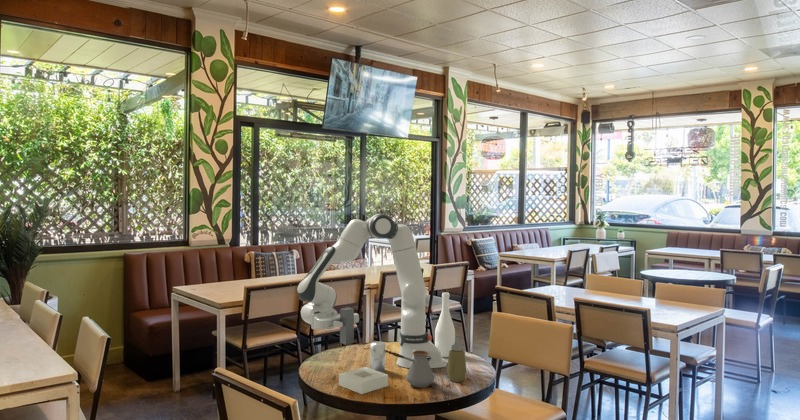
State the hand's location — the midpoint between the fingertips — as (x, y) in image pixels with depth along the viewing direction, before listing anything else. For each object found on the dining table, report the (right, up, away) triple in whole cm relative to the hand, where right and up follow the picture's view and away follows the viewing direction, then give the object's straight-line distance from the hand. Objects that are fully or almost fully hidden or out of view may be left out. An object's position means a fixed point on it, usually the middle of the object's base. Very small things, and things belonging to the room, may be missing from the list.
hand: (348, 323), depth 228 cm
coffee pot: (+24, -25, -2) cm, 35 cm away
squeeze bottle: (+44, -25, +5) cm, 51 cm away
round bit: (+11, -24, +16) cm, 31 cm away
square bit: (-1, -8, +1) cm, 8 cm away
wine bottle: (+42, -24, +41) cm, 64 cm away
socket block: (+6, -24, -3) cm, 25 cm away
